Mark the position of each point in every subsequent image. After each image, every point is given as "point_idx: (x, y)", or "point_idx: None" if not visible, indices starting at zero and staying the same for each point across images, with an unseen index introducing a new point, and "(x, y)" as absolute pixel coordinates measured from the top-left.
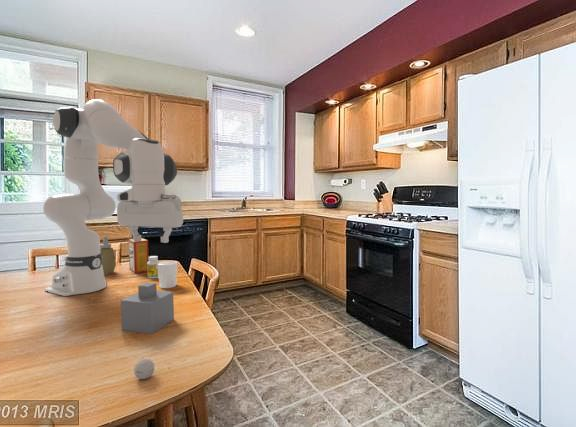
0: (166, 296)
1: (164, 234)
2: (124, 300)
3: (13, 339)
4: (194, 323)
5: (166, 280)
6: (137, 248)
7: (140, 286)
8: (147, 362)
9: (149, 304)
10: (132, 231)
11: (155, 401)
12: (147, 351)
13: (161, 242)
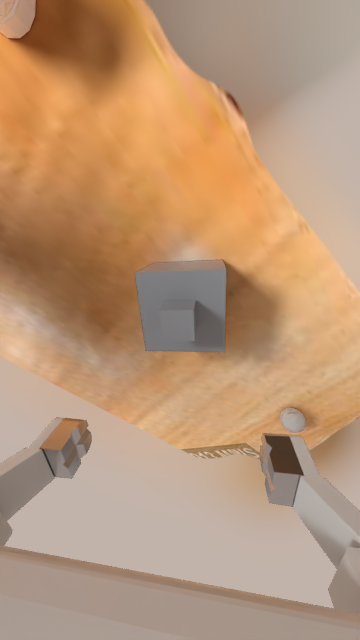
0: (225, 297)
1: (320, 536)
2: (155, 350)
3: (55, 378)
4: (278, 262)
5: (4, 4)
6: None
7: (169, 339)
8: (302, 429)
9: (221, 350)
10: (17, 510)
11: (325, 436)
12: (252, 367)
13: (262, 454)
